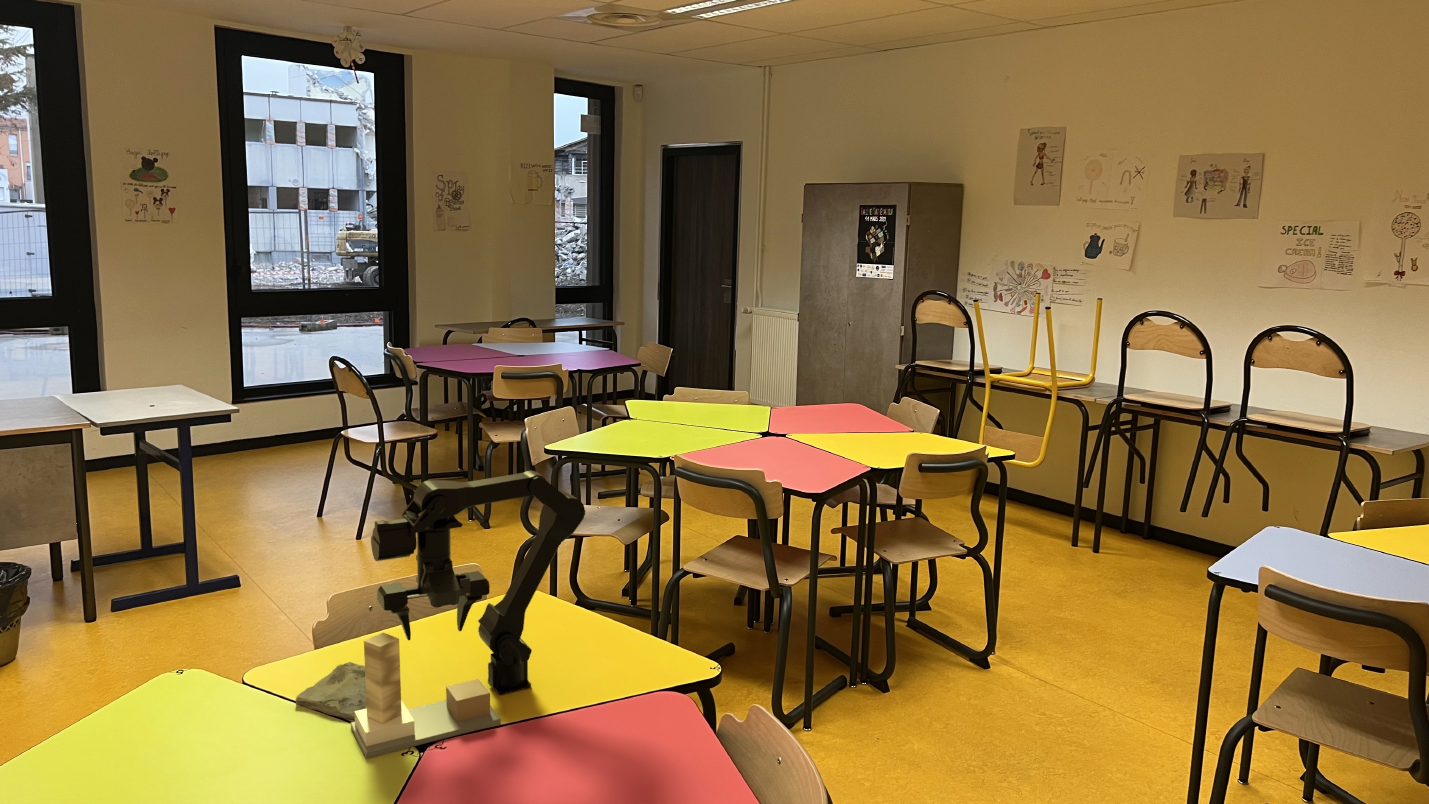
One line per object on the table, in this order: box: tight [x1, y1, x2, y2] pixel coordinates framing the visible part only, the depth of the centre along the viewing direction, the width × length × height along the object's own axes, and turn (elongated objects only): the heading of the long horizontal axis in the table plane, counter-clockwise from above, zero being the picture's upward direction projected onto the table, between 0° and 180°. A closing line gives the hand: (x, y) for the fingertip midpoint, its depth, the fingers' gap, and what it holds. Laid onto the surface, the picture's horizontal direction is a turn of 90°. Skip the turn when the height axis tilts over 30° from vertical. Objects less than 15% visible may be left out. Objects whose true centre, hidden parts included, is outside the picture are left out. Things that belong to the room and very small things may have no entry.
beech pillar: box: [363, 632, 402, 724], centre depth 169 cm, size 4×4×14 cm
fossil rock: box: [295, 661, 367, 721], centre depth 185 cm, size 18×15×2 cm
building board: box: [350, 678, 502, 759], centre depth 174 cm, size 23×11×5 cm, turn 122°
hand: (434, 634), depth 180 cm, fingers open, 9 cm apart
